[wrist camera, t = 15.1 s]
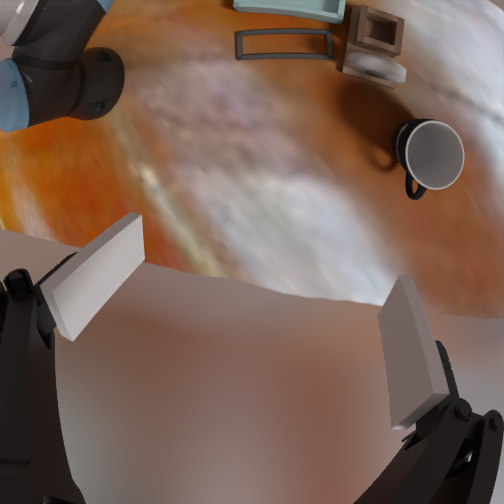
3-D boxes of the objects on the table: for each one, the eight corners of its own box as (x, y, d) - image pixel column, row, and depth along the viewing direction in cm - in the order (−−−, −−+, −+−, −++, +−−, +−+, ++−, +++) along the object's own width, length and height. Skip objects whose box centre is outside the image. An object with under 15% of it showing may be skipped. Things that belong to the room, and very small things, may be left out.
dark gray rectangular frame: (238, 60, 34) (237, 59, 33) (237, 32, 31) (236, 31, 31) (332, 60, 31) (332, 59, 31) (331, 31, 29) (331, 30, 28)
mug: (390, 108, 33) (412, 110, 24) (439, 125, 31) (470, 133, 23) (376, 180, 39) (392, 202, 30) (423, 193, 38) (448, 218, 29)
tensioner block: (341, 73, 32) (349, 64, 24) (351, 8, 25) (359, -14, 18) (392, 88, 31) (412, 85, 23) (401, 24, 25) (420, 8, 17)
